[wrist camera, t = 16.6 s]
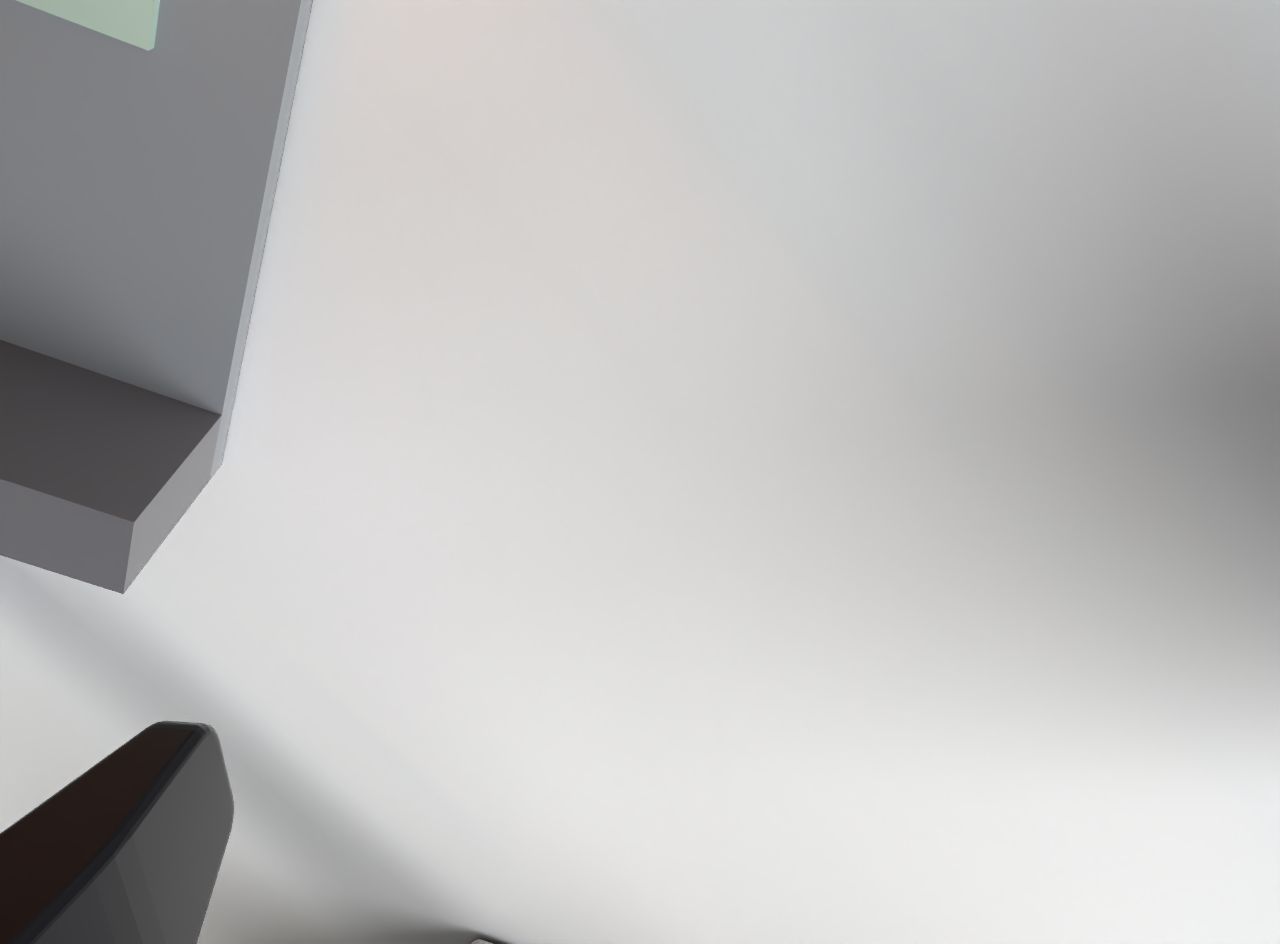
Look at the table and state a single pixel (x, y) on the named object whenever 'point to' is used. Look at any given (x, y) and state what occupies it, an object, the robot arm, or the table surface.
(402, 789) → the table surface
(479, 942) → the coffee box
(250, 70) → the tray
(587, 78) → the table surface
